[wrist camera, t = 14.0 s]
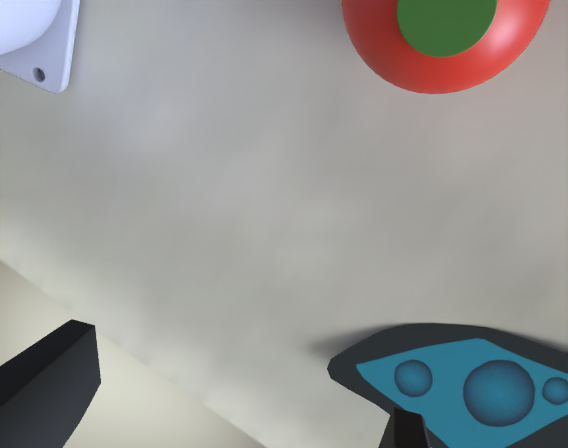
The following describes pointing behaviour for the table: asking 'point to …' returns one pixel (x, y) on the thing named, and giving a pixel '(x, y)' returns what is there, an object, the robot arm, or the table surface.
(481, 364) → the decorative butterfly
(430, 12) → the tomato
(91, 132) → the table surface
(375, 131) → the table surface
